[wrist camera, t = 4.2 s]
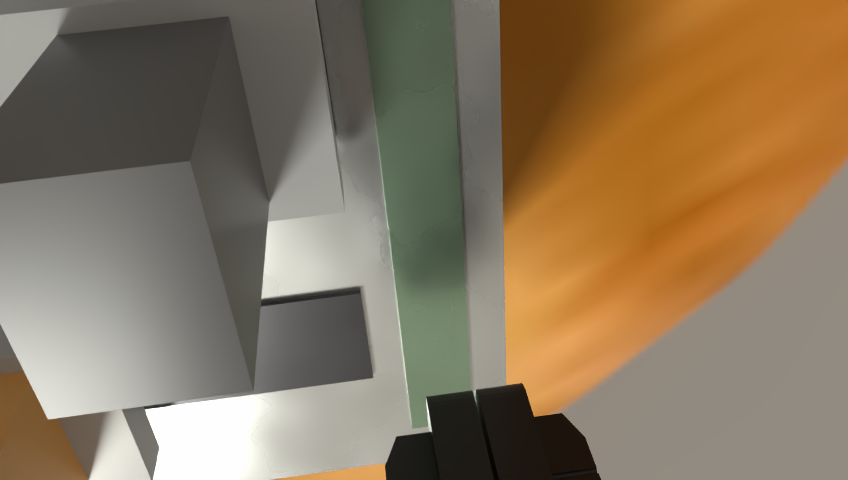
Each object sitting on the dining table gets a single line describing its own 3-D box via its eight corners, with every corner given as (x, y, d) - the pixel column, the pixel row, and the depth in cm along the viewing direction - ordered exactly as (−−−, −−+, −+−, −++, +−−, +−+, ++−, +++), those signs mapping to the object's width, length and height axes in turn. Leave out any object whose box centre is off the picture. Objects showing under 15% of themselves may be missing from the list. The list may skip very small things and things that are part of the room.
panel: (-700, -592, 10) (-1633, -872, 5) (408, -660, 11) (485, -955, 6) (-114, 348, 20) (-255, 559, 15) (460, 272, 21) (508, 449, 16)
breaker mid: (-19, -2, 10) (-219, 174, 6) (308, -38, 10) (308, 111, 6) (69, 217, 11) (-45, 454, 8) (342, 184, 12) (357, 398, 8)
